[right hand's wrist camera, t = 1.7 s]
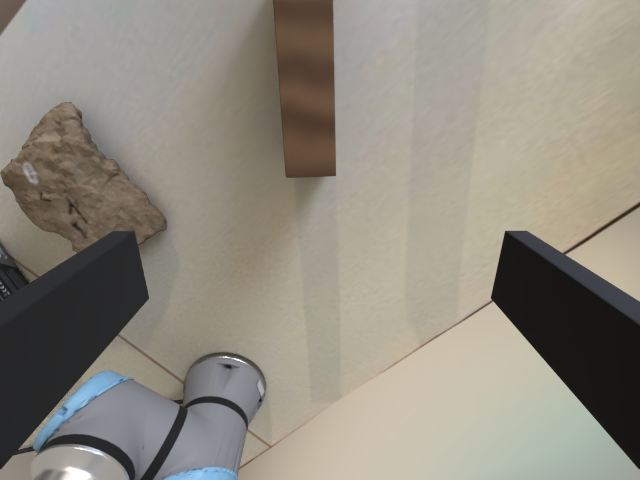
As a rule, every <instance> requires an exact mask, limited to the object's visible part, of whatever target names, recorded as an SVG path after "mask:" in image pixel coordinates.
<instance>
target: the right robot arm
mask: <svg viewBox="0 0 640 480" xmlns="http://www.w3.org/2000/svg"><path fill="white" fill-rule="evenodd" d="M148 299H149V296H148V291H147V286H146V281H145V277H144V272H143V267H142V263H141V258H140V253H139V249H138V244H137V239H136V235H135V231H112V232H111V233H109V234H107V235H106V236H104V237H103V238H101V239H99V240H98V241H96V242H95V243H93V244H91V245H90V246H88V247H87V248H85V249H84V250H82V251H80V252H79V253H77V254H76V255H74V256H72V257H71V258H69V259H68V260H66V261H64V262H63V263H61V264H60V265H58V266H56V267H55V268H53V269H52V270H50V271H48V272H47V273H45V274H44V275H42V276H41V277H39V278H37V279H36V280H34V281H33V282H31V283H29V284H28V285H26V286H25V287H23V288H21V289H20V290H18V291H17V292H15V293H13V294H12V295H10V296H9V297H7V298H5V299H4V300H2V301H1V302H0V469H2V467H3V466H4V465H5V464H6V463H7V462H8V460H9V459H10V458H11V457H12V456H13V455H17V454H21V453H25V452H31V451H35V450H36V452H38V453H37V456H36V457H35V458H34V460H33V461H32V463H31V466H30V475H31V480H237V479H238V477H237V475H238V471H239V466H240V461H241V457H242V452H243V447H244V442H245V438H246V433H247V428H248V425H249V423H250V422H251V420H252V419H253V417H254V416H255V414H256V412H257V411H258V409H259V408H260V406H261V404H262V402H263V399H264V396H265V390H266V382H265V378H264V376H263V374H262V372H261V370H260V369H259V368H258V367H257V366H256V365H255V364H254V363H253V362H251V361H250V360H248V359H246V358H244V357H242V356H240V355H236V354H232V353H213V354H209V355H206V356H204V357H202V358H200V359H198V360H197V361H196V362H195V363H194V364H193V365H192V366H191V368H190V369H189V371H188V373H187V376H186V378H185V382H184V398H183V400H170V399H168V398H166V397H164V396H162V395H160V394H158V393H156V392H155V391H153V390H151V389H149V388H147V387H145V386H143V385H141V384H139V383H137V382H136V381H134V379H132V378H130V377H128V378H127V377H124V376H122V375H120V374H118V373H116V372H113V371H103V372H100V373H98V374H96V375H95V376H93V377H92V378H91V379H89V380H88V381H87V382H86V383H85V384H83V385H82V386H81V387H80V388H79V389H78V390H77V391H76V392H75V393H74V394H73V395H72V396H71V397H70V398H69V399H68V400H67V401H66V402H65V403H64V404H63V406H62V407H61V409H60V410H58V411H57V413H56V414H55V415H54V416H53V417H52V418H51V419H50V420H49V421H48V422H47V423H46V425H45V426H44V427H43V428H42V430H41V431H40V432H39V434H38V435H37V437H36V438H35V440H34V442H33V447H29V448H24V449H20V450H18V449H19V448H20V447H21V445H22V444H23V443H24V442H25V441H26V440H27V439H28V437H29V436H30V435H31V434H32V433H33V432H34V430H35V429H36V428H37V427H38V426H39V425H40V424H41V422H42V421H43V420H44V419H45V418H46V417H47V415H48V414H49V413H50V412H51V411H52V410H53V409H54V407H55V406H56V405H57V404H58V403H59V402H60V400H61V399H62V398H63V397H64V396H65V395H66V394H67V392H68V391H69V390H70V389H71V388H72V387H73V385H74V384H75V383H76V382H77V381H78V380H79V379H80V377H81V376H82V375H83V374H84V373H85V372H86V370H87V369H88V368H89V367H90V366H91V365H92V364H93V362H94V361H95V360H96V359H97V358H98V357H99V355H100V354H101V353H102V352H103V351H104V350H105V349H106V347H107V346H108V345H109V344H110V343H111V342H112V340H113V339H114V338H115V337H116V336H117V335H118V334H119V332H120V331H121V330H122V329H123V328H124V327H125V325H126V324H127V323H128V322H129V321H130V320H131V319H132V317H133V316H134V315H135V314H136V313H137V312H138V310H139V309H140V308H141V307H142V306H143V305H144V304H145V302H146V301H147V300H148ZM491 299H492V300H493V301H494V302H495V303H496V305H497V306H498V307H499V308H500V309H501V310H502V312H503V313H504V314H505V315H506V316H507V317H508V319H509V320H510V321H511V322H512V323H513V324H514V325H515V327H516V328H517V329H518V330H519V331H520V332H521V334H522V335H523V336H524V337H525V338H526V339H527V340H528V342H529V343H530V344H531V345H532V346H533V347H534V349H535V350H536V351H537V352H538V353H539V354H540V355H541V357H542V358H543V359H544V360H545V361H546V362H547V364H548V365H549V366H550V367H551V368H552V369H553V370H554V372H555V373H556V374H557V375H558V376H559V377H560V378H561V380H562V381H563V382H564V383H565V384H566V385H567V387H568V388H569V389H570V390H571V391H572V392H573V394H574V395H575V396H576V397H577V398H578V399H579V400H580V402H581V403H582V404H583V405H584V406H585V407H586V409H587V410H588V411H589V412H590V413H591V414H592V415H593V417H594V418H595V419H596V420H597V421H598V422H599V424H600V425H601V426H602V427H603V428H604V429H605V430H606V432H607V433H608V434H609V435H610V436H611V437H612V439H613V440H614V441H615V442H616V443H617V444H618V445H619V447H620V448H621V449H622V450H623V451H624V452H625V454H626V455H627V456H628V457H629V458H630V459H631V460H632V462H633V463H634V464H635V465H636V466H637V467H638V469H640V302H639V301H638V300H636V299H635V298H633V297H631V296H630V295H628V294H627V293H625V292H623V291H622V290H620V289H619V288H617V287H615V286H614V285H612V284H611V283H609V282H607V281H606V280H604V279H603V278H601V277H599V276H598V275H596V274H595V273H593V272H591V271H590V270H588V269H587V268H585V267H584V266H582V265H580V264H579V263H577V262H576V261H574V260H572V259H571V258H569V257H568V256H566V255H564V254H563V253H561V252H560V251H558V250H556V249H555V248H553V247H552V246H550V245H549V244H547V243H545V242H544V241H542V240H541V239H539V238H537V237H536V236H534V235H533V234H531V233H529V232H528V231H505V235H504V239H503V244H502V249H501V253H500V258H499V263H498V267H497V272H496V277H495V281H494V286H493V291H492V296H491ZM179 404H183V406H181V405H179Z"/></svg>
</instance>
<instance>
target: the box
mask: <svg viewBox="0 0 640 480" xmlns="http://www.w3.org/2000/svg"><path fill="white" fill-rule="evenodd" d="M273 3H274V17H275V31H276V45H277V59H278V73H279V87H280V101H281V115H282V129H283V144H284V158H285V172H286V178H291V177H321V176H336V150H335V91H334V32H333V0H273Z"/></svg>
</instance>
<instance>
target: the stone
mask: <svg viewBox="0 0 640 480" xmlns="http://www.w3.org/2000/svg"><path fill="white" fill-rule="evenodd" d="M1 177H2V180H3V182H4V184H5V186H7V187H9V188H10V189H11V190H12V191H13V193H14V195H15V197H16V201H17V202H18V203H19V205H20V207H21V209H22V210H23V211H24V213H25V214H26V215H27V216H28V217H29V219H30V220H31V221H32V222H33V223H34V224H35V225H37V226H38V227H40V228H41V229H42V230H44V231H47V232H55V233H58V234H60V235H62V236H63V237H65V238H67V239H69V240H70V241H71V242H72V245H73V248H72V249H73V250H74V251H75V252H77V253H79V252H80V251H82V250H84V249H85V248H87V247H88V246H90V245H91V244H93V243H95V242H96V241H98V240H99V239H101V238H103V237H104V236H106V235H107V234H109V233H111V232H112V231H135V235H136V239H137V244H138V245H140V244H143V243H144V242H145V241H146V239H148V238H150V237H152V236H153V235H154V234H156V233H157V232H159V231H164V230H166V229H167V224H166V223H167V220H166V219H165V218H164V216H163V214H162V213H161V212H160V211H159V210H158V209H157V208H156V207H155V206H153V205H152V204H151V203H150V201H149V199H148V198H147V195H146V193H145V192H144V191H142V190H141V189H139V188H138V187H137V186H135V185H134V184H133V183H132V182H131V181H130V180H129V178H128V176H127V175H126V174H125V173H124V172H123V171H122V170H121V169H120V168H119V165H118V163H117V162H116V161H115V160H108V159H106V158H105V156H104V155H103V154H102V153H101V152H99V151H98V149H97V147H96V144H95V143H94V142H92V141H91V135H90V133H89V131H88V130H87V129H86V128H85V127H84V126H83V124H82V113H81V112H80V111H79V110H78V109H77V108H76V107H75V106H74V105H73V104H72V103H71V102H66V103H61V104H60V105H58V106H56V107H54V108H53V109H51V110H50V111H49V112H48V113H47V114H46V115H45V116H44V117H43V118H42V119H41V121H40V123H39V124H38V125H37V126H35V127H34V129H33V131H32V132H31V135H30V137H29V139H28V140H27V141H26V143H25V144H24V145H23V146H22V151H21V152H20V153H19V154H18V157H17V158H16V159H12V160H11V163H9V164H8V165H7V166H6V167H5V168H4V169H3V170H2V171H1Z"/></svg>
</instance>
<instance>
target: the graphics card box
mask: <svg viewBox="0 0 640 480" xmlns="http://www.w3.org/2000/svg"><path fill="white" fill-rule="evenodd" d="M28 284H29V283H28V282H27V280H26V279H25V278H24V276H23V275H22V273H21V272H20V271H19V269H18V268H17V266H16V265H15V263H14V262H13V261H12V259H11V258H10V257H9V255H8V254H7V252H6V251H5V250H4V248H3V247H2V245H1V244H0V302H1V301H2V300H4V299H5V298H7V297H9V296H10V295H12V294H13V293H15V292H17V291H18V290H20V289H21V288H23V287H25V286H26V285H28Z"/></svg>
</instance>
